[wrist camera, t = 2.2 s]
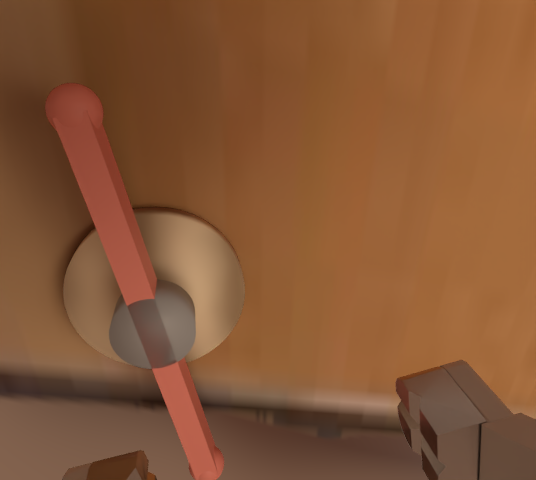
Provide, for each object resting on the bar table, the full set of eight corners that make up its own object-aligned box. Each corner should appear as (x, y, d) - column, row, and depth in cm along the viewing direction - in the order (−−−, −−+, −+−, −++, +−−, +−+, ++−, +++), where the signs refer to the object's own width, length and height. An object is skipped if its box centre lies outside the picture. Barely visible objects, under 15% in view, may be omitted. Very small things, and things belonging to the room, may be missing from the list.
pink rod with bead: (120, 70, 22) (112, 74, 20) (241, 451, 34) (244, 481, 32) (21, 92, 22) (1, 97, 19) (178, 469, 34) (178, 500, 32)
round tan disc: (221, 188, 29) (225, 203, 26) (257, 331, 34) (263, 357, 31) (39, 231, 28) (23, 251, 25) (104, 371, 33) (96, 401, 30)
